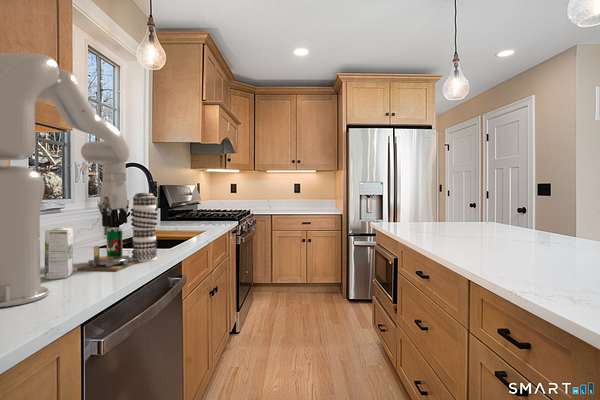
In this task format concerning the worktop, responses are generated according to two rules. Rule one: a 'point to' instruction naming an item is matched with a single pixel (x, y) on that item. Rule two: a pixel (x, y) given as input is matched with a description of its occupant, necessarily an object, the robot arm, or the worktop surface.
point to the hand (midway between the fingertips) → (115, 224)
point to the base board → (104, 268)
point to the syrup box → (58, 253)
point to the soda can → (114, 241)
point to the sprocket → (108, 259)
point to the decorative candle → (144, 227)
